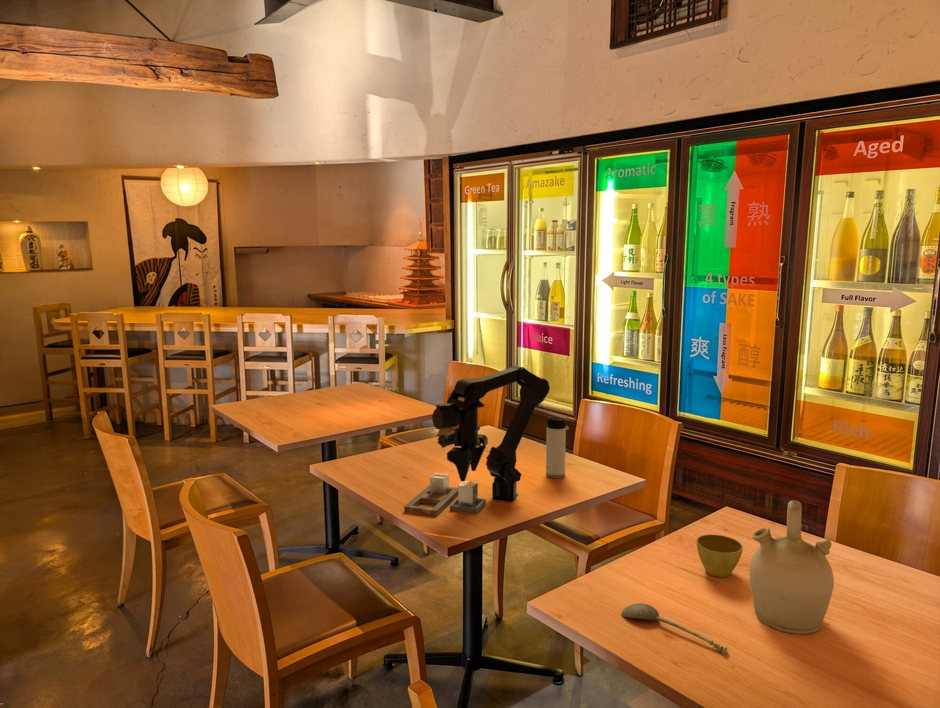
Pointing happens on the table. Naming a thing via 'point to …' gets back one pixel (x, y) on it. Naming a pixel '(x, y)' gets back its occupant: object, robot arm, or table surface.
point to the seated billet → (439, 484)
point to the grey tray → (475, 510)
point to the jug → (791, 578)
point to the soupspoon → (651, 613)
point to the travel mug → (555, 447)
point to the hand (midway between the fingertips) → (468, 475)
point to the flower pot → (719, 554)
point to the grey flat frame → (431, 502)
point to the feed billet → (468, 494)
